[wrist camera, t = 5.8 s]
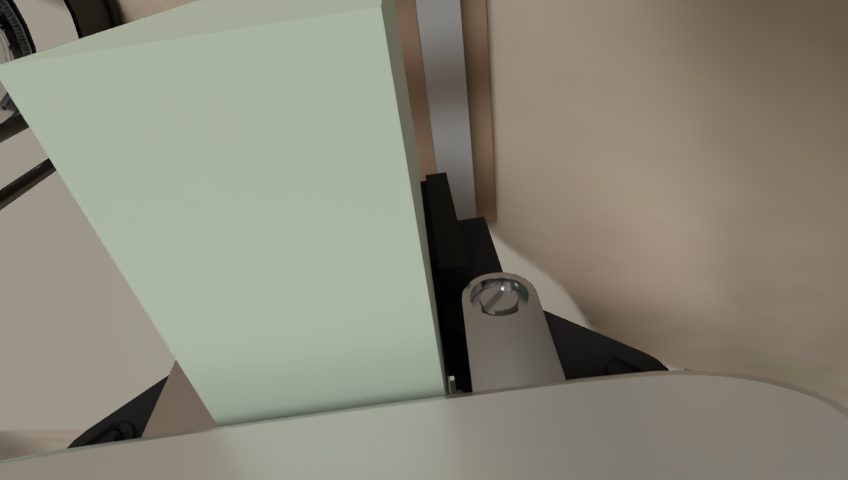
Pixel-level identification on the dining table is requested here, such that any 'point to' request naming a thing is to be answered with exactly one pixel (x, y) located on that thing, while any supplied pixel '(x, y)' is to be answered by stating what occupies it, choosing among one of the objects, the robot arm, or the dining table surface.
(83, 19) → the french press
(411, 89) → the door track
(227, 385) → the door panel
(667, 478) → the robot arm
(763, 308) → the dining table surface
